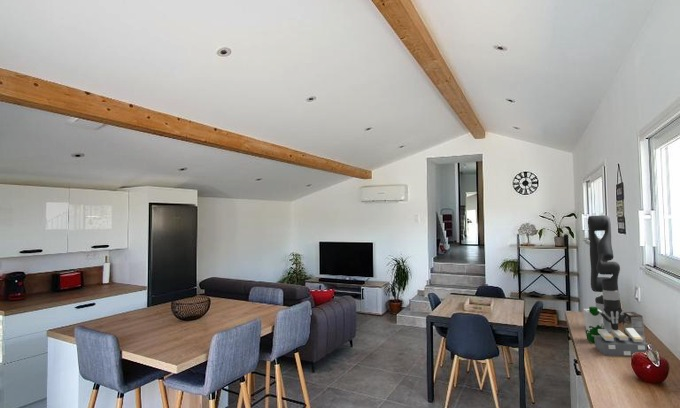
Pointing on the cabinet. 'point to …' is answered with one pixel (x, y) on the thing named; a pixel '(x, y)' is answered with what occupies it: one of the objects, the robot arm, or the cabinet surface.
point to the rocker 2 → (619, 335)
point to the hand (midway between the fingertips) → (615, 330)
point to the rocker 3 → (633, 335)
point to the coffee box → (634, 323)
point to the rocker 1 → (605, 334)
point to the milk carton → (592, 323)
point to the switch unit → (619, 346)
